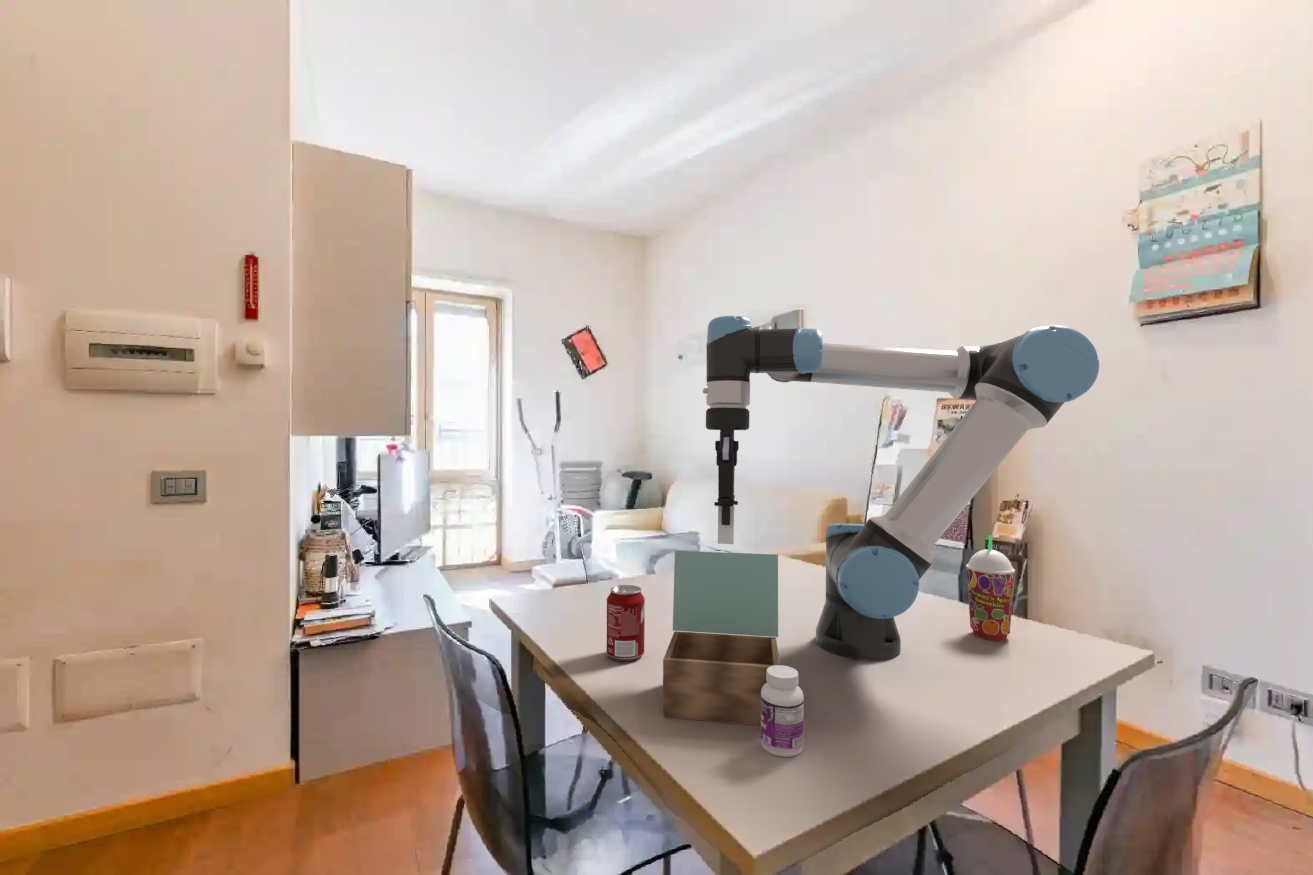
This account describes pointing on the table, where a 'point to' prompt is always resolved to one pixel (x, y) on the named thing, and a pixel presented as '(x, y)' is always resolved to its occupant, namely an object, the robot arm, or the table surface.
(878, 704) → the table surface
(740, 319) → the robot arm
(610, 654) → the soda can
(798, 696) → the pill bottle
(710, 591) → the lid
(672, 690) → the keepsake box
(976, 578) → the smoothie
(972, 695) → the table surface
